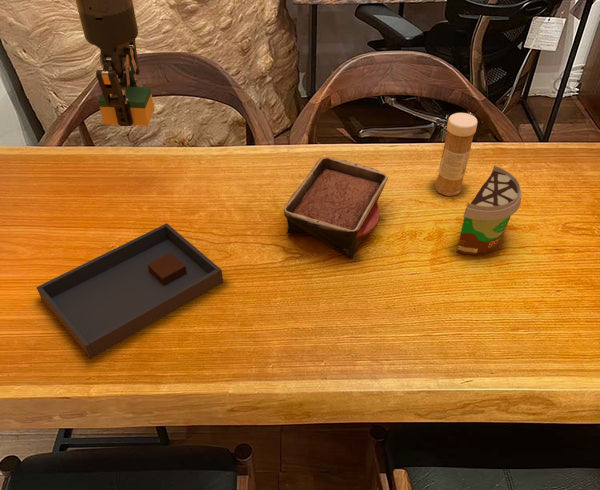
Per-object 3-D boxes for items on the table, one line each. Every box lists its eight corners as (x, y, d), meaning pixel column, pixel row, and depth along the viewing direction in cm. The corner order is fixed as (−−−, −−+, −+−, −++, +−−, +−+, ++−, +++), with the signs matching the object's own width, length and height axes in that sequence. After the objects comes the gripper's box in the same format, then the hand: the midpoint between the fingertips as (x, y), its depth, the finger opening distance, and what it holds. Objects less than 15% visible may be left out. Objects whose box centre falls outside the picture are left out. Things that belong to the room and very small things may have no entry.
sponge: (103, 124, 92) (98, 100, 89) (111, 108, 95) (106, 85, 92) (148, 126, 92) (144, 102, 89) (154, 110, 95) (150, 86, 92)
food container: (491, 272, 87) (508, 219, 80) (452, 258, 89) (466, 205, 82) (517, 228, 94) (535, 175, 87) (480, 215, 97) (495, 163, 90)
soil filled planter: (393, 223, 99) (399, 167, 93) (350, 274, 86) (354, 213, 80) (316, 205, 104) (317, 151, 98) (265, 250, 91) (263, 191, 85)
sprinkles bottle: (444, 178, 104) (458, 108, 95) (466, 189, 102) (483, 118, 92) (429, 189, 102) (443, 118, 92) (451, 200, 100) (468, 129, 90)
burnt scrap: (163, 286, 84) (162, 278, 83) (149, 271, 86) (147, 264, 85) (187, 273, 86) (185, 265, 85) (172, 259, 88) (170, 252, 87)
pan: (91, 361, 76) (85, 346, 73) (43, 302, 83) (35, 287, 81) (223, 285, 85) (221, 269, 83) (169, 238, 93) (166, 222, 91)
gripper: (91, -15, 86) (117, 94, 98) (62, 22, 76) (94, 139, 88) (142, -15, 86) (162, 95, 98) (119, 23, 76) (144, 140, 88)
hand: (130, 115), depth 93 cm, fingers closed on sponge, 5 cm apart
